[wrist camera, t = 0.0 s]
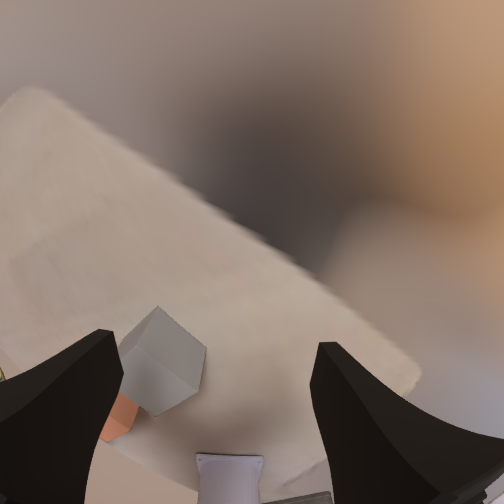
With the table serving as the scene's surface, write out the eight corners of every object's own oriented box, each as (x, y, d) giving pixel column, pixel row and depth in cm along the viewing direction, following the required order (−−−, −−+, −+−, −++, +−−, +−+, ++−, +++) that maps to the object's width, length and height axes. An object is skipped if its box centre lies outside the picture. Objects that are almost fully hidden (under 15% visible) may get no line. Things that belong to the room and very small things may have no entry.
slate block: (206, 346, 21) (198, 391, 16) (168, 374, 22) (155, 416, 17) (158, 304, 20) (136, 344, 15) (123, 338, 21) (100, 376, 16)
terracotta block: (144, 391, 23) (130, 430, 18) (120, 407, 24) (106, 442, 19) (103, 358, 21) (81, 395, 17) (83, 378, 22) (63, 411, 18)
